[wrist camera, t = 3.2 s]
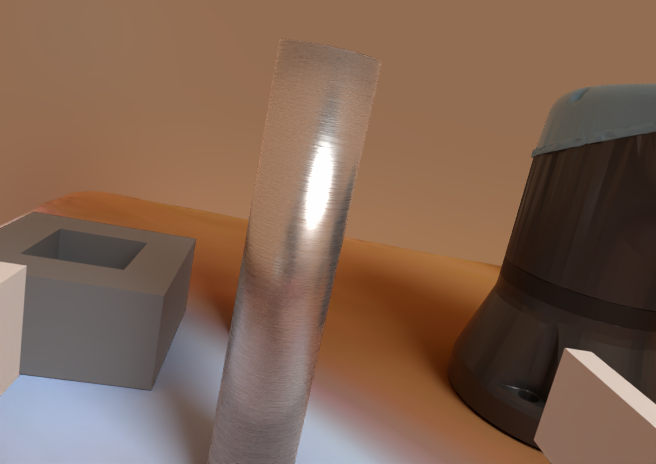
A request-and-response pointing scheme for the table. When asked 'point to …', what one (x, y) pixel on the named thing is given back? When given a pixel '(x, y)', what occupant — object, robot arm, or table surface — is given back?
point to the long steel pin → (292, 248)
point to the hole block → (97, 298)
